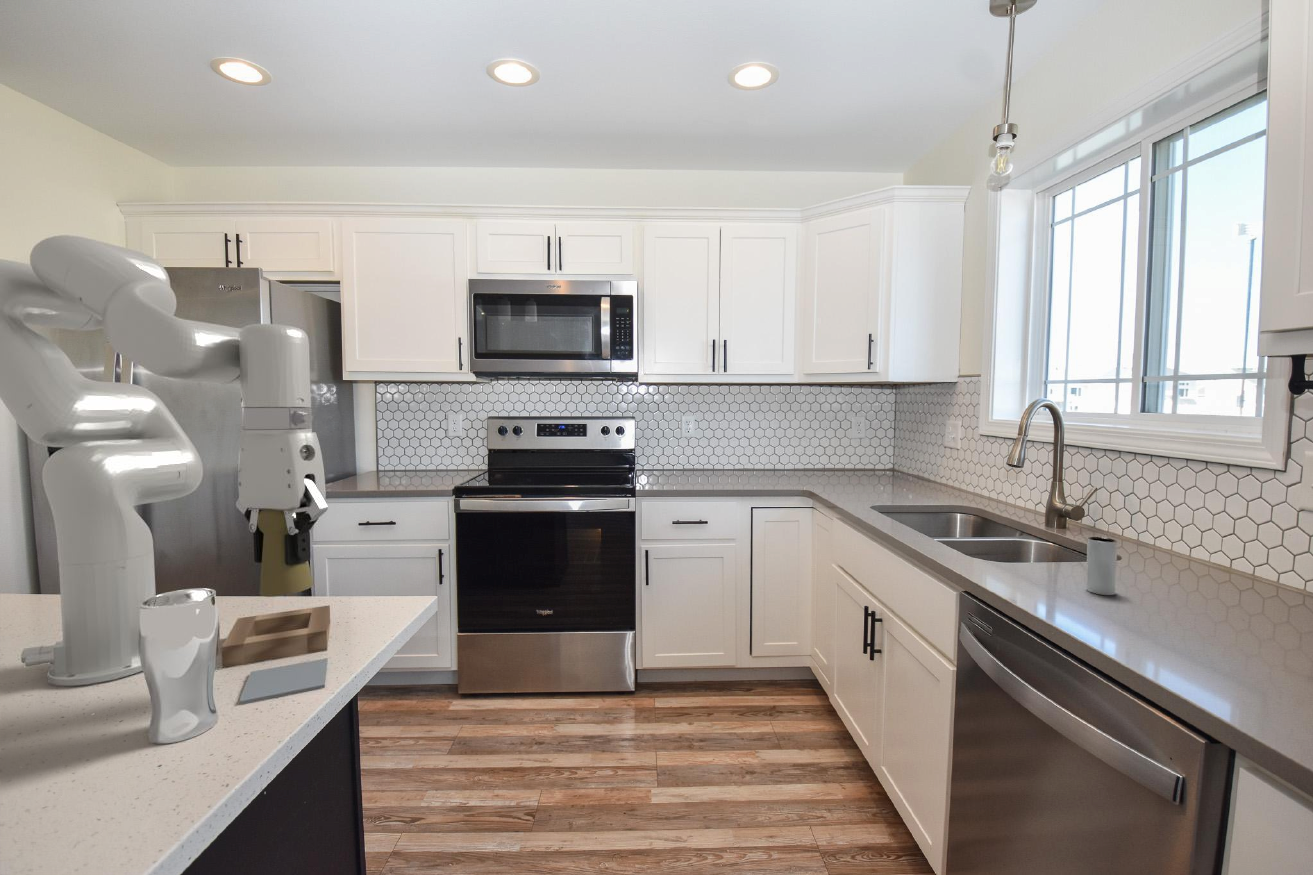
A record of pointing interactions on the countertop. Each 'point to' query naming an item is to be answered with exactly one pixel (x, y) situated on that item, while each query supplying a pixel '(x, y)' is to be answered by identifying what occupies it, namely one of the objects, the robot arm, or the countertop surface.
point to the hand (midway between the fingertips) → (282, 560)
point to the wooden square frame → (277, 636)
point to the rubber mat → (284, 681)
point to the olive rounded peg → (279, 558)
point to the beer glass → (179, 662)
